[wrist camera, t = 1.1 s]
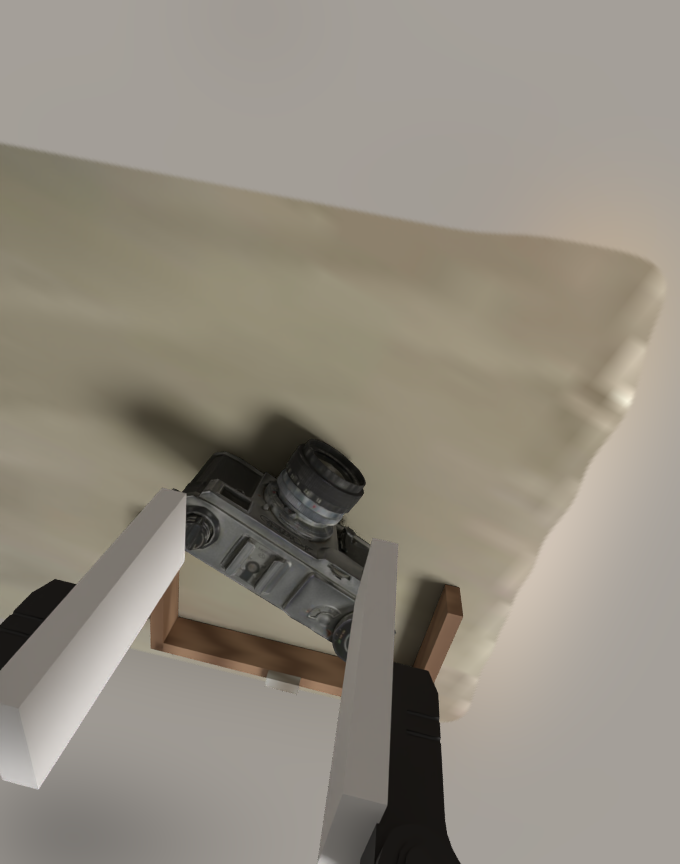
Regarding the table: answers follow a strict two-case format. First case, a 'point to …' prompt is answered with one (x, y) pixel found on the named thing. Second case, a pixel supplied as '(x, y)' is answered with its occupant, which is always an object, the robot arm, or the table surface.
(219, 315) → the table surface
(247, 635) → the dock
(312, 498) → the camera
